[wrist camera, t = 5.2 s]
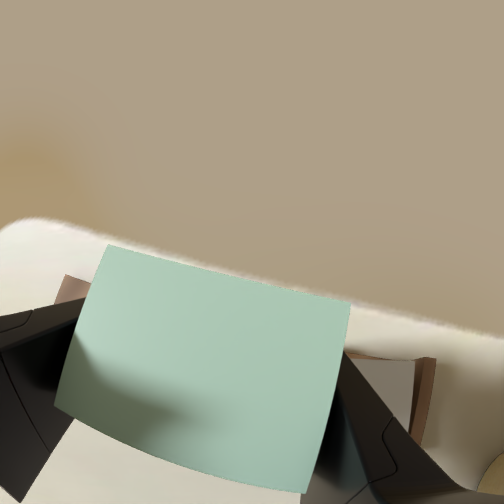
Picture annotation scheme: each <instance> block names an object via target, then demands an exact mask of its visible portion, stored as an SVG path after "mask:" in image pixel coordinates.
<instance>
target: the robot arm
mask: <svg viewBox="0 0 504 504" xmlns="http://www.w3.org/2000/svg"><path fill="white" fill-rule="evenodd" d="M85 299H86V297H84V298H80V299H76V300H71V301H67V302H63V303H59V304H54V305H50V306H46V307H41V308H37V309H34V310H28V311H24V312H19V313H15V314H10V315H4V316H0V487H1V488H2V489H3V490H5V491H6V492H7V493H8V494H9V495H10V496H12V497H13V498H14V499H15V500H16V501H18V502H19V503H21V502H22V500H23V499H24V497H25V495H26V494H27V492H28V490H29V489H30V487H31V486H32V484H33V482H34V481H35V479H36V477H37V476H38V474H39V473H40V471H41V469H42V468H43V466H44V465H45V463H46V462H47V460H48V458H49V457H50V455H51V453H52V452H53V450H54V449H55V447H56V446H57V444H58V443H59V441H60V440H61V438H62V436H63V435H64V433H65V432H66V430H67V429H68V427H69V426H70V424H71V423H72V421H73V420H74V419H75V418H74V417H72V416H70V415H68V414H67V413H65V412H63V411H62V410H60V409H58V408H57V407H55V406H54V402H55V398H56V394H57V390H58V386H59V382H60V378H61V374H62V371H63V367H64V363H65V360H66V356H67V353H68V350H69V346H70V343H71V340H72V337H73V334H74V331H75V328H76V325H77V322H78V319H79V316H80V313H81V310H82V308H83V305H84V302H85ZM300 504H504V495H497V494H489V493H482V492H476V491H471V490H468V489H465V488H463V487H461V486H460V485H458V484H457V483H455V482H454V481H453V480H452V479H451V478H450V477H449V476H448V475H447V474H446V473H445V472H444V471H443V470H442V469H441V468H440V467H439V466H438V465H437V464H436V463H435V462H434V461H433V460H432V458H431V457H430V456H429V455H428V454H427V453H426V452H425V451H424V450H423V449H422V448H421V447H420V446H419V445H418V444H417V442H416V441H415V440H414V439H413V438H412V437H411V436H410V434H409V433H408V432H407V431H406V429H405V428H404V427H403V426H402V425H401V423H400V422H399V421H398V419H397V418H396V417H395V416H393V413H392V412H391V410H390V409H389V408H388V407H387V405H386V404H385V403H384V401H383V400H382V399H381V398H380V396H379V395H378V394H377V392H376V391H375V390H374V389H373V387H372V386H371V385H370V383H369V382H368V381H367V380H366V378H365V377H364V376H363V375H362V373H361V372H360V371H359V369H358V368H357V367H356V366H355V364H354V363H353V362H352V360H351V359H350V358H349V357H348V355H347V354H346V353H345V352H344V350H343V353H342V358H341V363H340V368H339V373H338V378H337V382H336V387H335V391H334V395H333V400H332V404H331V408H330V412H329V416H328V420H327V424H326V428H325V432H324V435H323V439H322V442H321V446H320V449H319V453H318V456H317V460H316V463H315V466H314V469H313V473H312V476H311V479H310V482H309V485H308V488H307V491H306V494H302V493H301V499H300Z"/></svg>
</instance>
